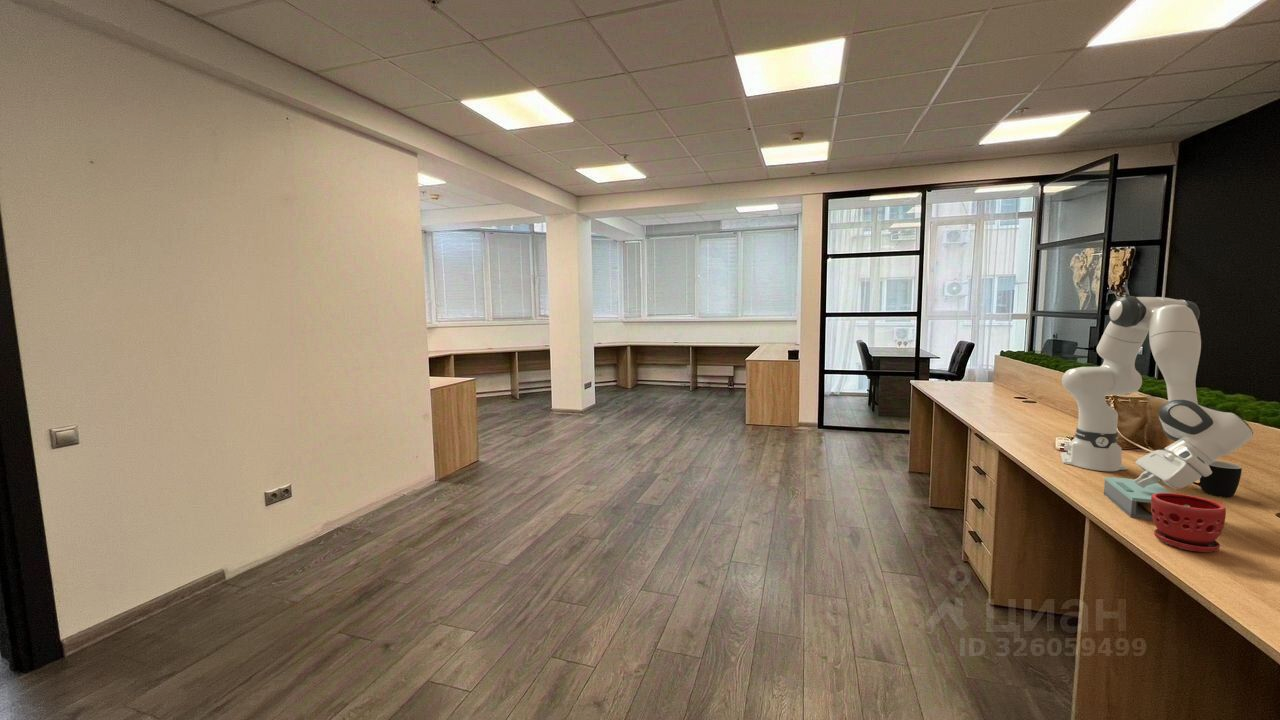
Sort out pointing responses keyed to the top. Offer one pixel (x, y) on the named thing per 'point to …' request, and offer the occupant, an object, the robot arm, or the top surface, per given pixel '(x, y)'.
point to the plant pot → (1187, 521)
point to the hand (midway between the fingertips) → (1137, 484)
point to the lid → (1136, 489)
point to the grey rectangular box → (1128, 503)
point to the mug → (1221, 479)
